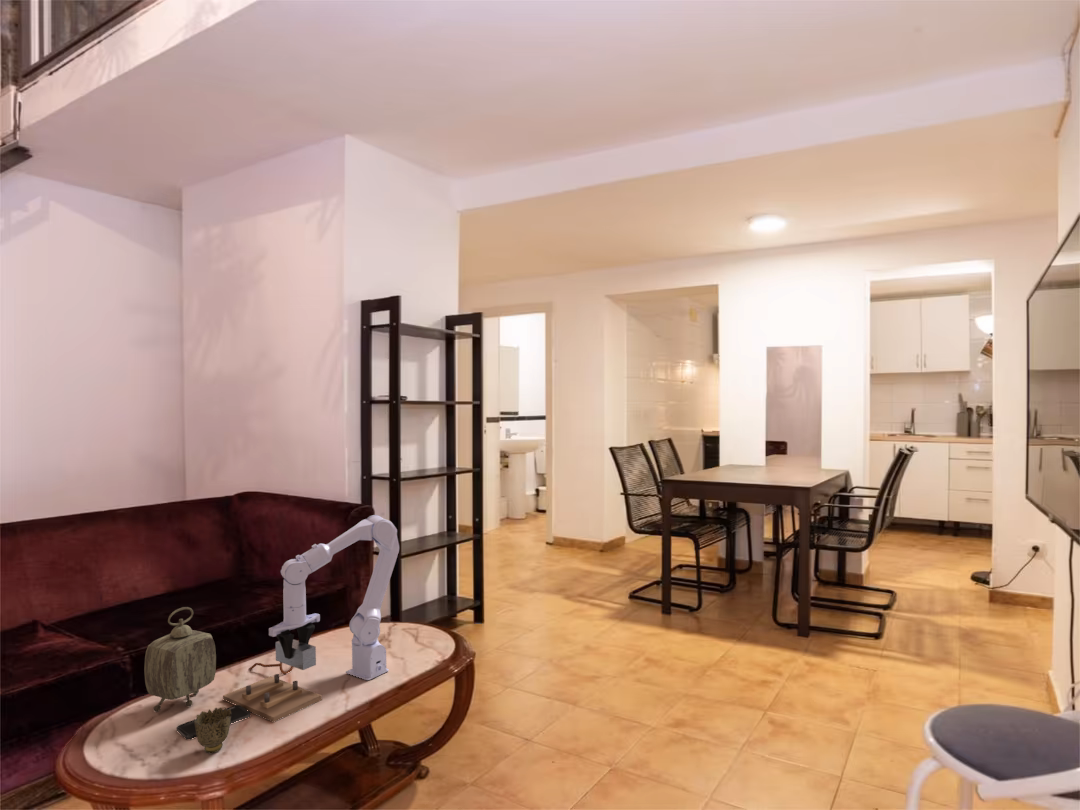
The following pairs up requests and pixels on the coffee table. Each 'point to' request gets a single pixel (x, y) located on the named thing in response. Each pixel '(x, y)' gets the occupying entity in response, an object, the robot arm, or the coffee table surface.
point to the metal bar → (298, 655)
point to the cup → (213, 728)
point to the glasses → (272, 666)
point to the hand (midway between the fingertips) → (295, 655)
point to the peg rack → (272, 698)
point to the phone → (236, 711)
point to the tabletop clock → (179, 662)
